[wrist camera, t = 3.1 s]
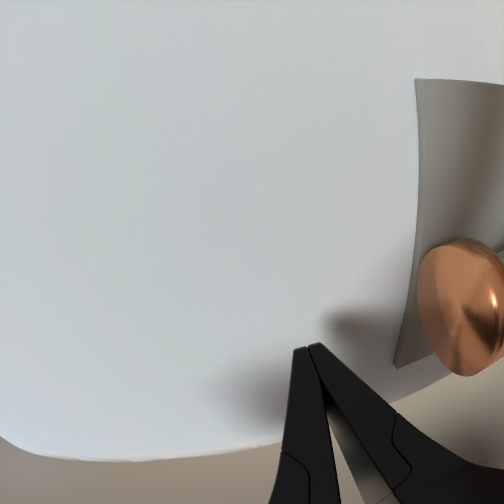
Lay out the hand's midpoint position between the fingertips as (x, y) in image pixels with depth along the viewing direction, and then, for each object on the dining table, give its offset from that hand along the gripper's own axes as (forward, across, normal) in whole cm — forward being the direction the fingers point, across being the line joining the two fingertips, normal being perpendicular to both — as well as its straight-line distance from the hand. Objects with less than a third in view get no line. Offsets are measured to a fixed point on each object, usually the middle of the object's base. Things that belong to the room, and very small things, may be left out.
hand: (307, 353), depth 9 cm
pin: (+2, -10, 0) cm, 10 cm away
